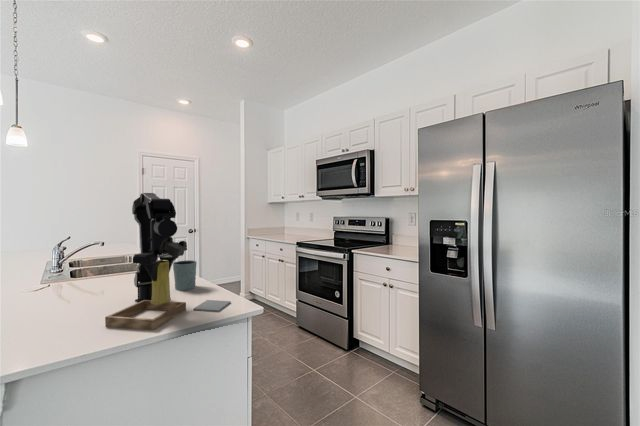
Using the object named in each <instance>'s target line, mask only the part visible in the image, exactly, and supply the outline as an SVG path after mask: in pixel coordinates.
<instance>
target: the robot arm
mask: <svg viewBox="0 0 640 426" xmlns="http://www.w3.org/2000/svg"><path fill="white" fill-rule="evenodd" d="M131 210H132V215H133V216H134V217H133V218H134V220H135V222H136V223H137V224H138V227H139V243H140V245H139V246H140V253H137V254H136V253H135V254H134V255H133V256H132V264H138V265H137V267H136V272H134V274H135V275H134V278H133V285H134V286H135V288H137V298H136V299H135V300H134V302H136V303H138V302H140V301H143V300H151V299H152V280H153V281H157V271H158V265H159V264H160V263H161V262H159V261H158V260H168V261H169V273H170V271H171V268H172V267H173V263H174V261H176V259H178V258H179V257H181V256H184V255H185V251H188V247H187V246H188V245H187V241H185V240H180V241H179V242H176V241H174V239H173V236H174V235H175V234H176V233H177V231H178V226H177V223H176V222H175V221H174V220H172V219H176V215H177V212H176V209H175V205H174V204H173V202H172V201H171V199H170V198H160V197H159V196H158V195H157V194H156V193H154V192H142V193H140V195H139V197H137V198H136V199H135V200H133V202H132V206H131Z"/></svg>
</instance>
